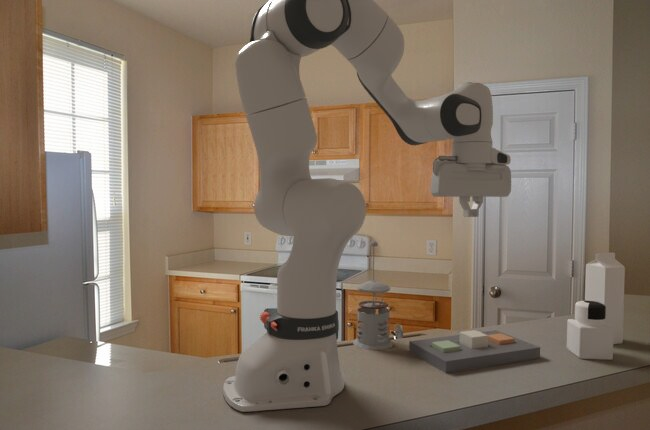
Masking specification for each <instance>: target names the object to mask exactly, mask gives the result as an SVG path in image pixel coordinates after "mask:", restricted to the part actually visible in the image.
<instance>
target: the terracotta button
mask: <svg viewBox="0 0 650 430" xmlns="http://www.w3.org/2000/svg"><path fill="white" fill-rule="evenodd" d="M504 334H505V333H504ZM504 334H501V333H499V334H492V335H488V341H490V342H493V343H495V344H497V345H504V344H511V343H514V338H512V337H513V336H512V337H509V336H507V335H508V334H507V335H504Z"/></svg>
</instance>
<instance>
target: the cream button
mask: <svg viewBox="0 0 650 430" xmlns="http://www.w3.org/2000/svg"><path fill="white" fill-rule="evenodd" d="M481 332H482V331H478V330H476V329H474V330H473V329H472V330H466V331H464V330H463V331H460V332H459V335H460V337H459V343H460V344H462V345H464V346H466V347H468V348H470V349H476V348H483V347H488V335H486V334H483V333H481Z"/></svg>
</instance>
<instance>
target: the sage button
mask: <svg viewBox="0 0 650 430" xmlns="http://www.w3.org/2000/svg"><path fill="white" fill-rule="evenodd" d="M432 348H434V349H436V350H438V351H440V352H442V353H447V352H454V351H460V346H459V345H457V344H455V343H453V342H451V341H449V340H446V341H439V342H432Z"/></svg>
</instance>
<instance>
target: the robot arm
mask: <svg viewBox="0 0 650 430" xmlns="http://www.w3.org/2000/svg"><path fill="white" fill-rule="evenodd" d="M251 22H252V23H251V25H250V39H249V42H248V43H247V44H246V45H245V46H243V47H242V48H241V49H240V50H239V52H238V53H237V55H236V57H235V62H234V65H235V66H234V67H235V68H234V69H235V74H236V81H237V87H238V92H239V95H240V101H241V105H242V108H243V112H244V115H245V118H246V121H247V125H248V127H249V131H250V133H251V137H252V141H253V143H254V144H253V145H254V147H255V151H256V154H257V159H258V160H257V161H258V166H259V189H258V190H259V191H258V192H257V195H256V196H255V200H254V205H253V206H254V207H253V209H254V215H255V217H256V219H257V222H258V223H259V225H261V226H262V227H263V228H265V229H267V230H269V231H271V232H273V233H275V234H277V235H280V236H286V237H293V241H292V246H291V250H290V253H289V256H288V257H287V260H286V261H285V262H283V263H282V264H281V266H280V267H279V268H278V271H277V274H276V278H277V279H276V287H277V288H276V291H277V292H276V301H277V302H276V305H277V307H276V309H277V310H276V311H275V312H273V313H272V314H270V313H269V312H268V311H263V312H261V314H260V316H259V320H260V321H261V323H263V324H264V325H266V332H265V334H263V335H262V336H261V337H260V338H258V339H257V340H256V341H255V342H253V343H251V345H250V346H249V347H248V348H246V349H245V350H243V351H242V352H241V354H240V355H239V358H238V360H237V364H236V368H235V375H233V376H229V377H228V378H227V379H225V381H224V383H223V387H222V394H223V397H224V399H225V401H226V402H227V404H228V405H229V406H230V407H231V408H233V409H234V410H237V411H239V412H242V413H243V412H245V413H247V412H259V411H260V412H261V411H262V412H263V411H274V410H287V409H300V408H311V407H323V406H328V405H329V404H330V403H331V402H332V399H333V398H334V397H335V396H337V395H338V394H340V393H341V392H342V391H343V389H344V388H345V381H344V378H343V375H342V371H341V367H340V364H341V363H340V360H339V353H338V352H339V351H338V339H339V331H340V329H339V327H340V326H339V325H340V323H339V312H338V310H337V281H338V279H337V277H338V270H339V265H340V262H341V258H342V255H343V253H344V251H345V249H346V246H347V244H348V243H349V242H350V240H351V239H353V237H354V236H355V235H356V234H358V232H360V229H362V227H363V226H364V225H363V224H364V222H365V219H366V215H367V206H366V205H367V204H366V200H365V198H364V197H365V196H364V195H363V193H362V190H360V189H359V187H357V186H356V185H354V184H353V183H350V182H347V181H343V180H339V179H336V178H312V177H311V173H310V172H311V171H310V157H311V153H312V152H313V151H314V149H315V147H316V146H317V144H318V134H317V131H316V129H315V126H314V121H313V117H312V115H311V114H312V113H311V111H310V107H309V103H308V99H307V96H306V92H305V89H304V86H303V83H302V80H301V76H300V74H301V73H300V63H301V60H302V59H301V58H303V57H307V56H309V55H312V54H314V53H316V52H318V51H320V50H322V49H325V48H327V47H329V46H333V48H335V49H336V50H337V51H338V52H339V53H340V55H342V56H343V57H344V58H345V60H347V61H348V63H350V64H351V66H353V68H354V70H355V71H356V75H357V79H358V81H359V83H360V84H361V85H362V87H363V88H364V90H365V91H366V93H367V94H368V95H369V97H370V98H372V99H373V101H374V102H375V103H376V105H378V107H380V109H381V110H382V111H383V112H384V114H385V115H386V116H387V118H388V119H389V120H390V122H391V123H392V125H393V127H394V128H395V131H396V132H397V134H398V135H399V137H400V139H401V140H403V142H404V143H406V144H408V145H411V146H419V145H423V144H427V143H433V142H441V141H446V140H452V143H451V155H438V157H436V158H435V159H434V160H433V162H432V174H431V180H430V193H431V195H432V196H433V197H434V198H435V197H436V198H438V197H439V198H445V197H446V198H447V197H449V198H452V197H453V198H457V197H458V202H459V205H460V206H461V207H462V209H463V210H462V211H463V213H462V214H463V217H464V218H473V217H474V218H478V217H479V215H480V214H479V211H480V208H481V206H482V204H483V203H484V198H485V197H489V198H492V197H493V198H496V197H497V198H503V197H505V198H507V197H509V195H510V194H511V192H512V172H511V168H510V167H509V166H508V165H510V164H511V160H512V159H511V155H509V154H507V153H505V152H503V151H500V150H498V149H497V148H495V147H493V139H492V128H493V125H494V110H493V109H494V108H493V107H494V106H493V105H494V104H493V100H492V99H493V98H492V94H491V89H490V87H488V86H487V85H485V84H483V83H479V82H464V83H460V84H459V85H457V86H456V88H455V89H454V90H452V91H450V92H448V93H445V94H443V95H437V96H435V97H430V98H427V99H426V98H425V99H421V100H420V99H419V100H418V99H412V98H410V97H408V96H407V94H406V93H405V92H404V91H403V90H402V88H401V87H400V85H399V84H398V83H397V82H396V80H395V79H394V78H393V77H392V75H393V73H394V72H395V71H396V70H397V68H398V66H399V65H400V62H401V60H402V58H403V55H404V52H405V37H404V34H403V32H402V31H401V28H400V27H399V26H398V25H397V23H396V22H395V21H394V20H393V19H392V18H391V17H390V15H389V14H388V13H387V12H386V11H385V10H384V9H383V7H381V6H380V5H379V4H378V3H377V2H375V1H374V0H268V1H267V2H266V3H264V4H263V5H262V6H261V7H259V9H258V10H257V11H256V13H255V15H254V16H253V19H252V21H251ZM471 201H472V203H473V204H472V206H470V204H469V203H470V202H471Z"/></svg>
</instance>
